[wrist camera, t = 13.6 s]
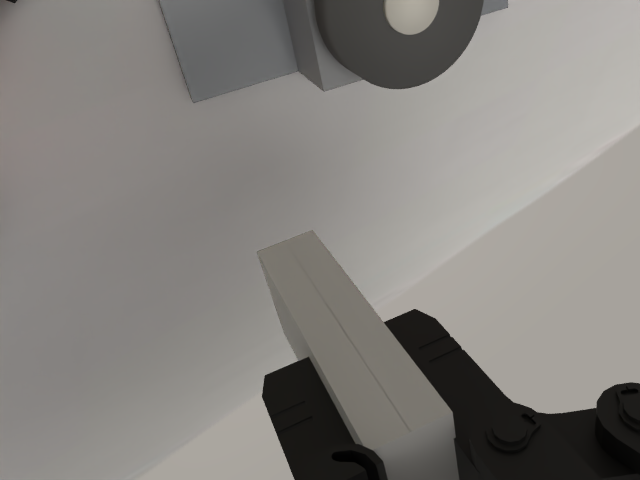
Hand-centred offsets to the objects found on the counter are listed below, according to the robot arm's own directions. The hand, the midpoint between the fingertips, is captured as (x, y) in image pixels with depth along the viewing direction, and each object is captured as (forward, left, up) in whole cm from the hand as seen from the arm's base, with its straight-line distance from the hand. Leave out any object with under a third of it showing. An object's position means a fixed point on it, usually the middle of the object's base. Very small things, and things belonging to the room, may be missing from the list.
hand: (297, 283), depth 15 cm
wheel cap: (+7, +4, -13) cm, 16 cm away
